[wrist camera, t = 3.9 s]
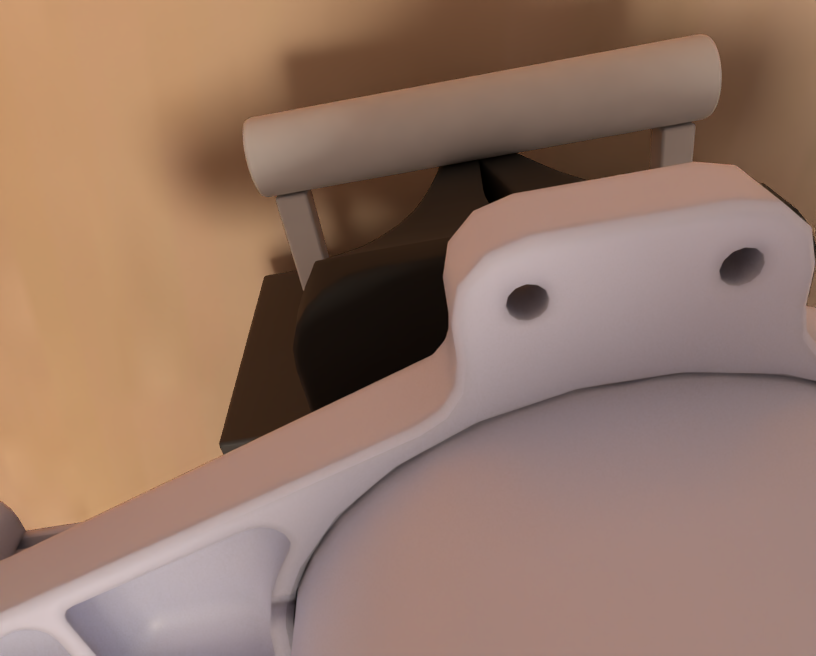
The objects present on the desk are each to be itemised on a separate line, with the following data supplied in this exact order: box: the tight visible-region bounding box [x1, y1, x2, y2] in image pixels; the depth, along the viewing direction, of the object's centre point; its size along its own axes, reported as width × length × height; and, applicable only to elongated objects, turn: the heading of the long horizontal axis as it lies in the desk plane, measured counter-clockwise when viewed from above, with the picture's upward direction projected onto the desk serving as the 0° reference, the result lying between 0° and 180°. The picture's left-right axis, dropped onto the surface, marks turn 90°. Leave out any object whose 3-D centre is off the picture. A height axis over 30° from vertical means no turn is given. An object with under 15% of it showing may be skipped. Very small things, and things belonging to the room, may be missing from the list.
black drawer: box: [219, 34, 722, 454], centre depth 16 cm, size 17×11×6 cm, turn 10°
